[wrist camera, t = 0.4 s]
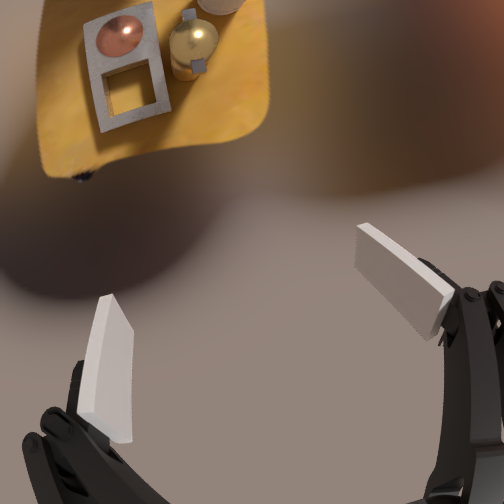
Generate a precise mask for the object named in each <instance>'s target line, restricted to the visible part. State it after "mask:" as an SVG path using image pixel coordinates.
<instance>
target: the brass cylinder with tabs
mask: <svg viewBox="0 0 504 504" xmlns="http://www.w3.org/2000/svg"><path fill="white" fill-rule="evenodd" d="M181 15H182V21H183V22H181V23H180V24H178V25H177V26H176V27H175V28H174V29H173V30H172V32H171V34H170V38H169V45H170V57H171V68H172V74H173V75H174V77H175V78H176V79H178V80H180V81H183V82H189V81H192V80H195V79H196V78H197V77H199V75H200V74H203V73H206V71H207V70H206V63H207V62H208V60H209V58H210V56H211V55H212V53H213V51H214V50H215V48H216V46H217V44H218V40H219V36H218V32H217V30H216V28H215V27H214V26H213V25H212V24H211V23H209V22H207V21H205V20H201V19H197V16H196V10H195V8H192V9H186V10H182V14H181Z"/></svg>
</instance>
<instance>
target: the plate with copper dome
mask: <svg viewBox="0 0 504 504" xmlns="http://www.w3.org/2000/svg"><path fill="white" fill-rule="evenodd" d="M83 31H84V41H85V50H86V57H87V64H88V71H89V77H90V83H91V89H92V94H93V99H94V104H95V109H96V114H97V118H98V123H99V127H100V131H101V133H104V132H108V131H111V130H113V129H116V128H119V127H122V126H125V125H128V124H131V123H134V122H137V121H140V120H143V119H146V118H150V117H153V116H156V115H160V114H163V113H167V112H171V111H172V110H171V105H170V100H169V95H168V90H167V85H166V80H165V75H164V69H163V64H162V59H161V53H160V47H159V41H158V35H157V29H156V23H155V16H154V9H153V4H152V1H150V2H146V3H143V4H139V5H135V6H132V7H129V8H125V9H122V10H119V11H116V12H113V13H110V14H108V15H105V16H102V17H99V18H97V19H94V20H92V21H89V22H87V23H85V24H83ZM145 64H149V66H150V71H151V76H152V82H153V87H154V92H155V97H156V103H153V104H149V105H146V106H143V107H139V108H136V109H133V110H130V111H127V112H124V113H121V114H118V115H116V116H114V112H113V108H112V103H111V98H110V93H109V88H108V82H107V77H109V76H112V75H114V74H117V73H120V72H123V71H126V70H129V69H132V68H135V67H139V66H142V65H145Z"/></svg>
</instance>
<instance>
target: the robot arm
mask: <svg viewBox="0 0 504 504" xmlns="http://www.w3.org/2000/svg"><path fill="white" fill-rule="evenodd" d="M356 227H357V228H356V252H355V268H356V269H357V270H358V271H359V272H360V273H361V274H362V275H363V276H364V277H365V278H366V279H367V280H368V281H369V282H370V283H371V284H372V285H373V286H374V287H375V288H376V289H377V290H378V291H379V292H380V293H381V294H382V295H383V296H384V297H385V298H386V299H387V300H388V301H389V302H390V303H391V304H392V305H393V306H394V307H395V308H396V310H397V311H398V312H399V313H400V314H401V315H402V316H403V317H404V318H405V319H406V320H407V321H408V322H409V323H410V324H411V325H412V326H413V328H414V329H415V330H416V331H417V332H418V333H419V334H420V335H421V336H422V337H423V338H424V340H425V341H428V340H430V339H431V338H433V337H434V336H436V335H437V334H438V331H439V329H440V327H441V326H442V327H443V328H444V329H445V330H444V332H443V334H442V336H441V339H440V341H439V344H438V346H440V345H441V343H442V341H443V342H444V345H443V346H444V402H443V416H442V427H441V436H440V444H439V450H438V456H437V462H436V466H435V468H434V471H433V472H432V474H431V475H430V477H429V480H428V482H427V486H426V489H425V493H424V497H423V499H420V500H417V501H414V502H410V503H407V504H504V501H503V500H504V443H503V442H502V441H501V417H502V421H503V426H504V283H503V282H501V281H493V282H492V283H491V284H490V287H489V290H487V291H483V292H479V291H478V290H476V289H474V288H471V287H465V288H463V289H462V288H461V287H459V286H458V285H457V284H456V283H455V282H453V281H452V280H451V279H450V278H449V277H447V276H446V275H445V274H444V273H441V271H440V270H439V269H436V267H435V266H434V265H432V264H431V263H430V262H428V261H426V260H424V259H421V258H415V257H414V256H413V255H412V254H410V253H409V252H407V251H406V250H405V249H404V248H402V247H401V246H399V245H398V244H397V243H396V242H394V241H393V240H391V239H390V238H389V237H387V236H386V235H384V234H383V233H382V232H380V231H379V230H377V229H376V228H374V227H373V226H371V225H370V224H369V223H364V224H361V225H357V226H356ZM498 320H500V322H501V326H500V327H499V328H498V326H497V322H498ZM133 341H134V331H133V329H132V327H131V326H130V324H129V322H128V321H127V319H126V317H125V316H124V314H123V312H122V310H121V309H120V307H119V305H118V303H117V301H116V299H115V298H114V296H113V294H110V295H106V296H103V297H100V299H99V302H98V306H97V309H96V313H95V317H94V321H93V325H92V329H91V334H90V338H89V342H88V347H87V352H86V357H85V360H81V361H78V362H77V364H76V366H75V368H74V370H73V373H72V379H71V381H72V382H71V384H70V390H69V395H68V402H67V409H66V413H65V412H64V411H63V410H62V409H60V408H58V407H51V408H49V409H47V410H46V411H45V412H44V414H43V415H42V418H41V422H40V427H41V430H42V432H44V433H45V434H46V435H47V436H44V437H42V436H40V435H39V434H37V433H35V432H30V433H28V434H27V435H26V436H25V438H24V440H23V443H22V450H23V455H24V459H25V463H26V467H27V471H28V474H29V478H30V481H31V484H32V487H33V490H34V493H35V496H36V499H37V502H38V504H170V503H169V502H168V501H166V500H165V499H164V498H163V497H162V496H161V495H159V494H158V493H157V492H156V491H155V490H154V489H153V488H151V487H150V486H149V485H148V484H147V483H146V482H145V481H144V480H143V479H142V478H141V477H140V476H139V475H138V474H137V473H136V472H135V471H134V470H133V469H132V468H131V467H130V466H129V465H128V464H127V463H126V462H125V461H124V460H123V459H122V458H121V457H120V456H119V454H118V453H117V452H116V451H115V450H114V449H113V448H112V447H111V446H110V442H109V439H111V440H112V441H114V442H115V443H117V444H119V443H132V442H133V441H132V440H133V439H132V400H131V399H132V391H131V390H132V359H133ZM462 487H463V490H462V495H461V497H460V496H458V494H459V491H460V490H461V488H462Z"/></svg>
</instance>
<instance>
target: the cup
mask: <svg viewBox="0 0 504 504" xmlns="http://www.w3.org/2000/svg"><path fill="white" fill-rule="evenodd" d="M244 1H245V0H197V2H198V5H199V6H200V7H201V8H202V9H203V10H204V11H206V12H207V13H210V14H213V15H227V14H231V13H233V12H235V11H237V10H238V9H239V8H240V7H241V5H242V4H243V3H244Z"/></svg>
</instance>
